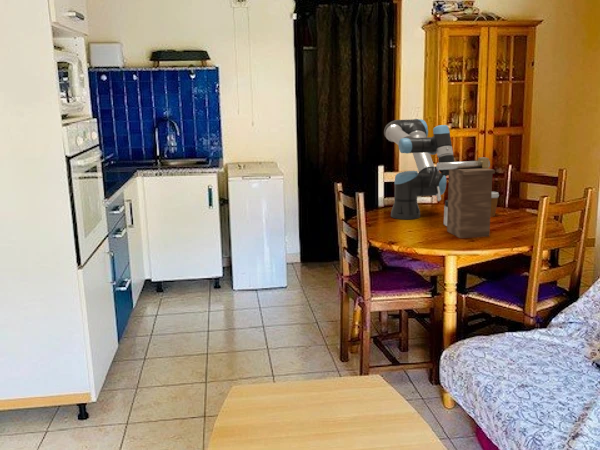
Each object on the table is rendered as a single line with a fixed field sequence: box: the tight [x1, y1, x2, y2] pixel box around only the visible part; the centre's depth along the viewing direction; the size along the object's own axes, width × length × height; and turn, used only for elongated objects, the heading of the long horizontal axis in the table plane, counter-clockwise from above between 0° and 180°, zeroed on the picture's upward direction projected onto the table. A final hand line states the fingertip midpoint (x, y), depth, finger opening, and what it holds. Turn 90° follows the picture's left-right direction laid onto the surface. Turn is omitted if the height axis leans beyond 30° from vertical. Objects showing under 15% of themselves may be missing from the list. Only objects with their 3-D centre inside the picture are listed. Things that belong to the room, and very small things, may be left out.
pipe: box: [435, 156, 491, 170], centre depth 265 cm, size 4×24×4 cm, turn 100°
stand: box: [446, 168, 496, 239], centre depth 269 cm, size 18×14×30 cm
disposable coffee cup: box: [490, 191, 500, 218], centre depth 309 cm, size 10×10×12 cm
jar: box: [443, 199, 448, 227], centre depth 289 cm, size 9×8×12 cm
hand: (452, 199), depth 284 cm, fingers open, 13 cm apart
